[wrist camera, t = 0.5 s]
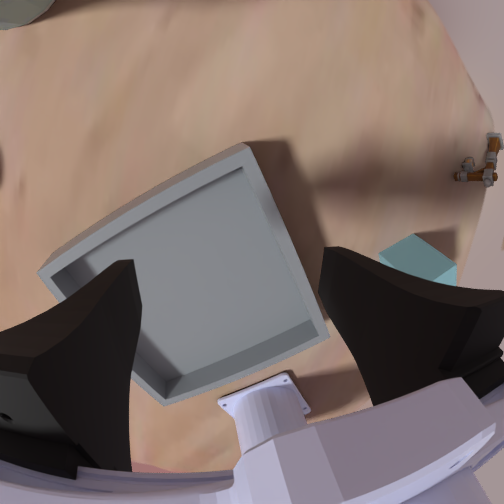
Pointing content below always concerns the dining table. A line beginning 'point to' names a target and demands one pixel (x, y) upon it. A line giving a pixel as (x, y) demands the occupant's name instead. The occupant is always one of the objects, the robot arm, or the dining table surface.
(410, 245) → the block
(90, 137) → the dining table surface
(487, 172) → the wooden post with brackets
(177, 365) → the tray
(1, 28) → the disposable coffee cup
